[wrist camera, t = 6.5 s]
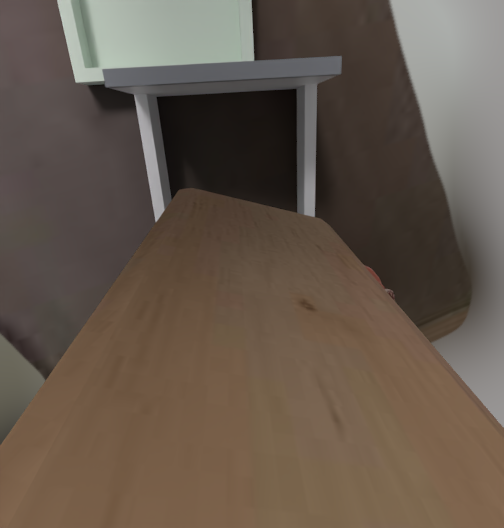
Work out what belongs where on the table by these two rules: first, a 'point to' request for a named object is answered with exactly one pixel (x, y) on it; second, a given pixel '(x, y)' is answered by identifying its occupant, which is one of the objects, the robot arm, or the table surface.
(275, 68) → the dock
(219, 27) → the tray
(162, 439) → the wooden block
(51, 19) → the table surface
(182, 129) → the table surface
